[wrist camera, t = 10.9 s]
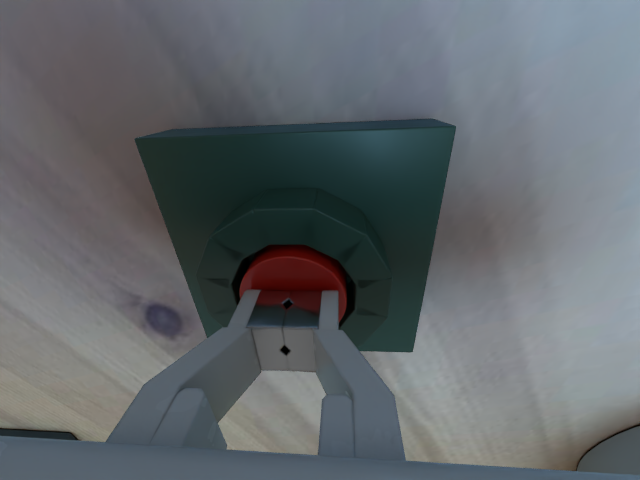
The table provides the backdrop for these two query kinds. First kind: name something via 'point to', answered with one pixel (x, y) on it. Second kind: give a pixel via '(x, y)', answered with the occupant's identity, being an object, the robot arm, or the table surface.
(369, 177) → the button block
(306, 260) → the button
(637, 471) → the bowl
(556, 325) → the table surface
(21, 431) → the base
